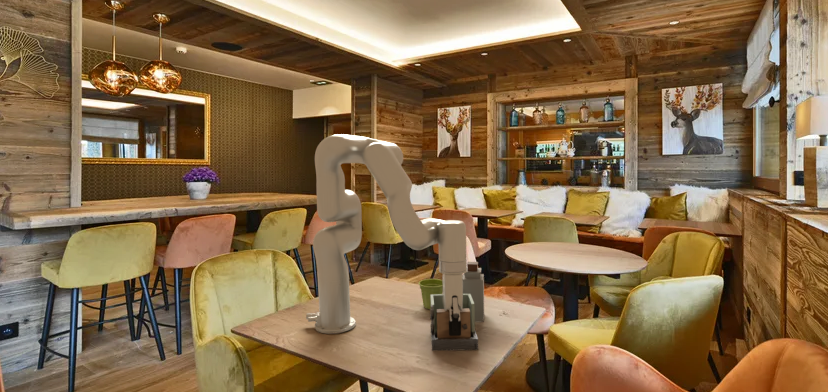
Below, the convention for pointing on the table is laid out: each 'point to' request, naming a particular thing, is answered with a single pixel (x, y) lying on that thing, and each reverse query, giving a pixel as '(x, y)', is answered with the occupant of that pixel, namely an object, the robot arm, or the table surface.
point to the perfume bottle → (475, 288)
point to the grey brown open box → (452, 340)
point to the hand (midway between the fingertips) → (453, 329)
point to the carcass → (467, 303)
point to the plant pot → (430, 290)
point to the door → (443, 324)
